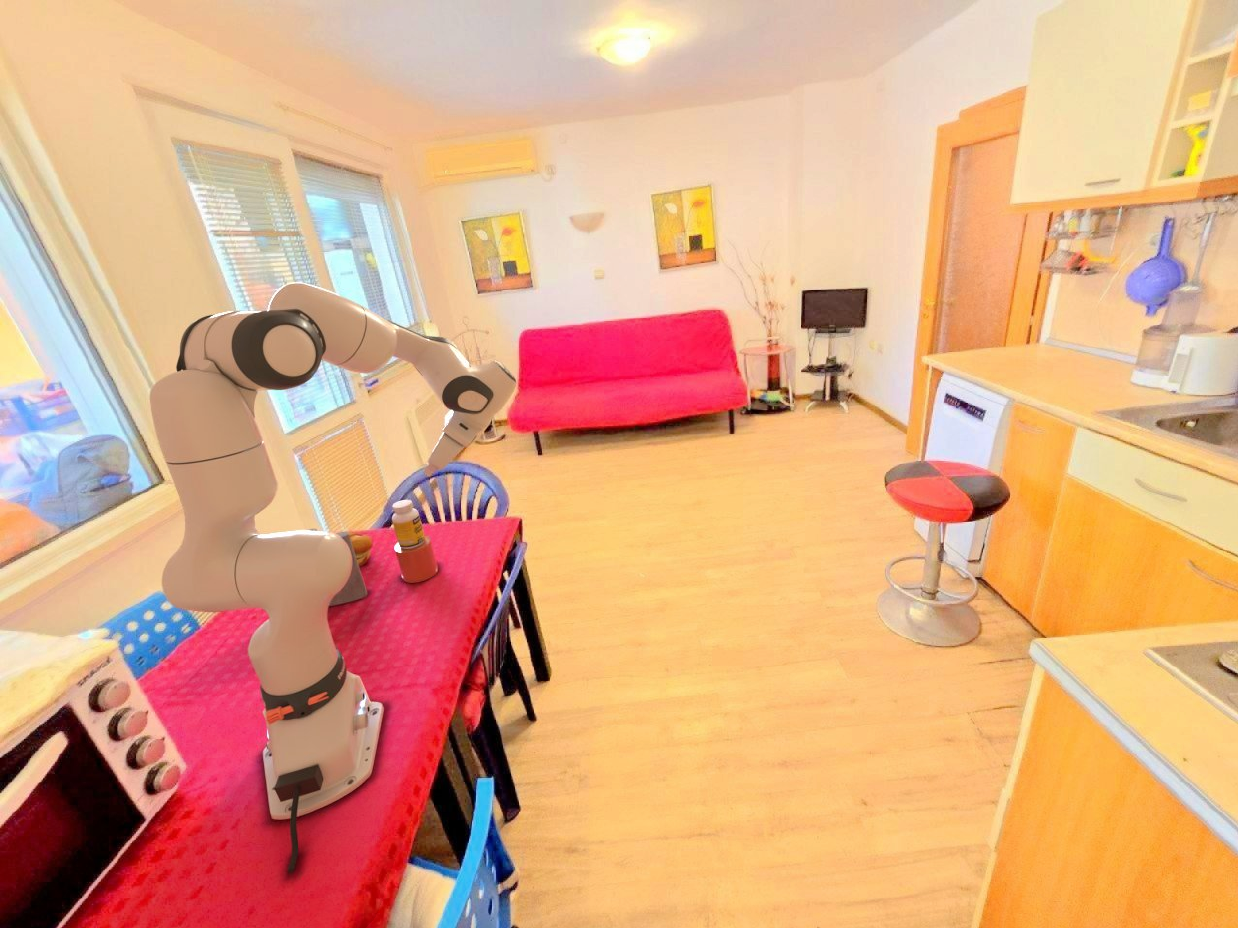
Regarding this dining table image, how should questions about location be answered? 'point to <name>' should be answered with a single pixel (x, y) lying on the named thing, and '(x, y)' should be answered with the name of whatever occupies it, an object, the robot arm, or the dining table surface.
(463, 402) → the robot arm
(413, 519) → the pill bottle
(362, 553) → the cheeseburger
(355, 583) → the hip flask
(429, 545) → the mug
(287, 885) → the dining table surface
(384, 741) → the dining table surface
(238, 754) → the dining table surface
